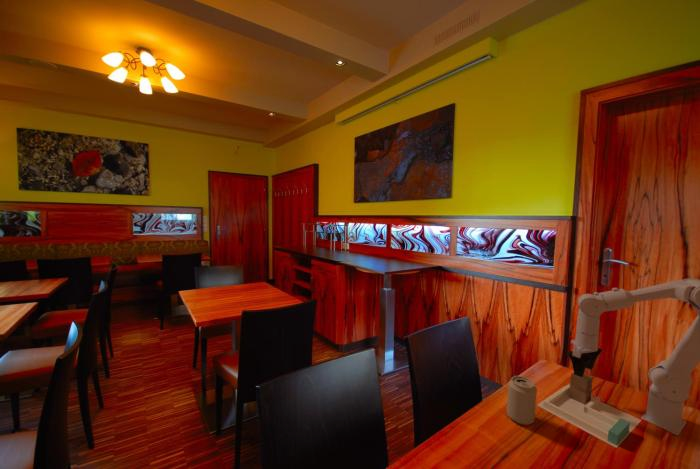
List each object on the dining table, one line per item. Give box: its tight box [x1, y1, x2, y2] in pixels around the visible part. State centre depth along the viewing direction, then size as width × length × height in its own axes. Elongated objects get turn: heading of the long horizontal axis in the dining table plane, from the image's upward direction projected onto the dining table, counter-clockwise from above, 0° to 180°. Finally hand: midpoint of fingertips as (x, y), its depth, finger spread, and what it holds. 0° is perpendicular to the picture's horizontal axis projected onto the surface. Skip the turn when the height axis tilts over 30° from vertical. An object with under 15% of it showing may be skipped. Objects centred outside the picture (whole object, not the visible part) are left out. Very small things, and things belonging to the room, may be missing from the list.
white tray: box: [536, 383, 642, 449], centre depth 97 cm, size 20×20×4 cm
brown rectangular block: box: [569, 372, 594, 405], centre depth 103 cm, size 4×4×8 cm
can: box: [506, 375, 538, 426], centre depth 94 cm, size 8×8×12 cm
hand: (583, 371), depth 102 cm, fingers open, 7 cm apart
